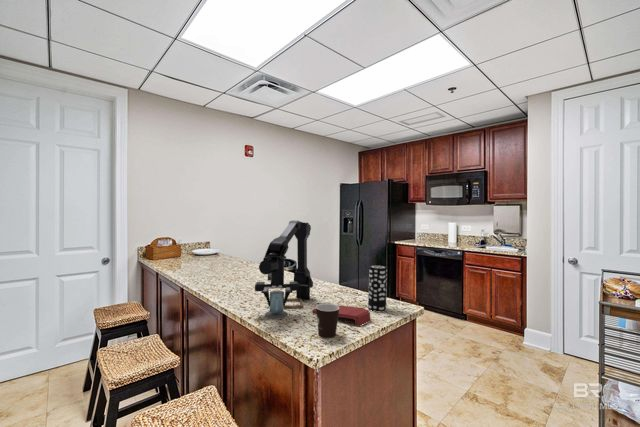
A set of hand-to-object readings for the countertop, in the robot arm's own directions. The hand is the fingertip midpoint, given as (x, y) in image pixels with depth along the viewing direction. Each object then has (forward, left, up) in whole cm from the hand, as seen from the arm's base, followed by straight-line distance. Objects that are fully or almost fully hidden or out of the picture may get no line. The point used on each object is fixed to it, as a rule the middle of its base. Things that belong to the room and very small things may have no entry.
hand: (276, 305), depth 129 cm
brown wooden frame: (-5, -14, -4) cm, 15 cm away
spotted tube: (-47, -4, -4) cm, 47 cm away
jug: (0, +1, -2) cm, 2 cm away
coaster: (0, 0, -4) cm, 4 cm away
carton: (-28, +4, -4) cm, 28 cm away
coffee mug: (-19, +21, -4) cm, 29 cm away
